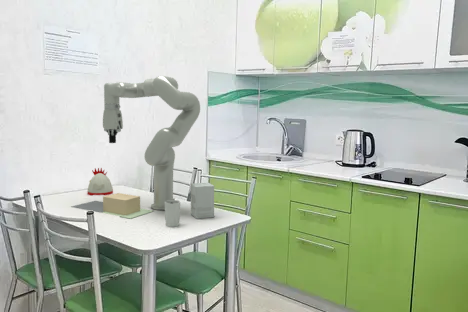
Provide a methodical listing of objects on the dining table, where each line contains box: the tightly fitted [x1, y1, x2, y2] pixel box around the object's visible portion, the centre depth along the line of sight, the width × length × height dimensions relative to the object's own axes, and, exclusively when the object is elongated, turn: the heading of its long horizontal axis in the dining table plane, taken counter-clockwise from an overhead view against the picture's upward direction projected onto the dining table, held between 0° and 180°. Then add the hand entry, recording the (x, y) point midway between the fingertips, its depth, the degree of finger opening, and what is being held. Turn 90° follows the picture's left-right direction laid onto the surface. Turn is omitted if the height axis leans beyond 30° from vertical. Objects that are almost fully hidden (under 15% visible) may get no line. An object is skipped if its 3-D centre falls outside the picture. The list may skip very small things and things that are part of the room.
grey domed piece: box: [86, 167, 114, 196], centre depth 234 cm, size 14×14×15 cm
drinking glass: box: [164, 199, 181, 227], centre depth 175 cm, size 7×7×10 cm
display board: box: [70, 200, 154, 220], centre depth 199 cm, size 39×16×1 cm, turn 62°
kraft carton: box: [102, 192, 141, 215], centre depth 194 cm, size 14×10×7 cm
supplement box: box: [190, 182, 215, 220], centre depth 190 cm, size 9×9×15 cm
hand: (112, 142), depth 212 cm, fingers closed
